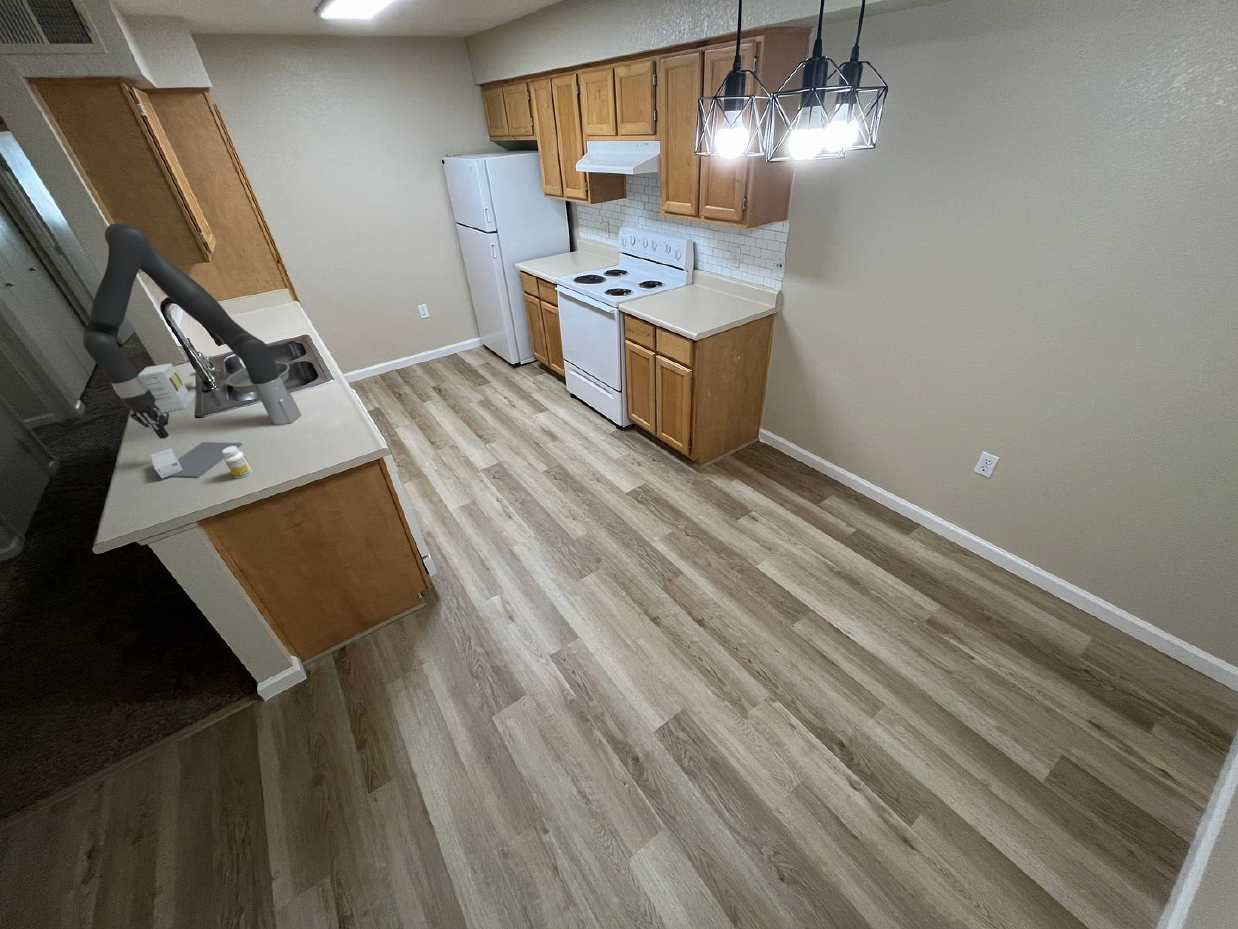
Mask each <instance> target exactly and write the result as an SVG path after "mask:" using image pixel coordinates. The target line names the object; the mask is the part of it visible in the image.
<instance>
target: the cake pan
mask: <svg viewBox="0 0 1238 929" xmlns="http://www.w3.org/2000/svg"><path fill="white" fill-rule="evenodd" d="M275 363H276V366H277V369H278V373H279V375H280V377H281V379H282V381H283V383H284V382H286V381H287V380H288V379H289V376H290V375H289V374H290V373H289V370H290V365H289V364H288V363H287V362H281V361H275ZM248 375H249V374H248V371H247V369H246V367H244V368H242V369H239V370H237V371H236V372H234V373H232V374H230V375H229V376H228V377H227V379H226V381H225V382H226V383H227V384H228V386H231V387H232V388H233V389H234V390H235V391H236V392H238V393H243V394H251V393H257V392H256V390H255V388H254V386H253V384H252V383H251V381H250V379H249V376H248Z"/></svg>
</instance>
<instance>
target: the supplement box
mask: <svg viewBox="0 0 1238 929" xmlns="http://www.w3.org/2000/svg"><path fill="white" fill-rule="evenodd" d="M137 374H138V375H139V376H140V378H141V379H142V380H143V381H144V382H145V384H146V385H147V387H148V388H149V390H150V391H151V393H152V394H153V396H154V397H155V399H156V401H155V405H156V406H157V407H158V408H159V409H160V411H161V412H163V413H165V412H168V413H169V412H173V411H174V412H175V411H176V412H177V411H180V410H186V409H187V408H188V406H189V405H190V404H191V403H192V402H193V400H194V398H193V397H192V395H191V393H190V392H189V390H188V388H187V387H186V385H185V384H184V382H183V380H182V378H180V377H181V376H180V375H179V374H178V373H177V371H176V369H175V367H174V365H173V364H172V363H164V364H159V365H152V366H145V368H144V369H143V370H141V372H139V373H137Z"/></svg>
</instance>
